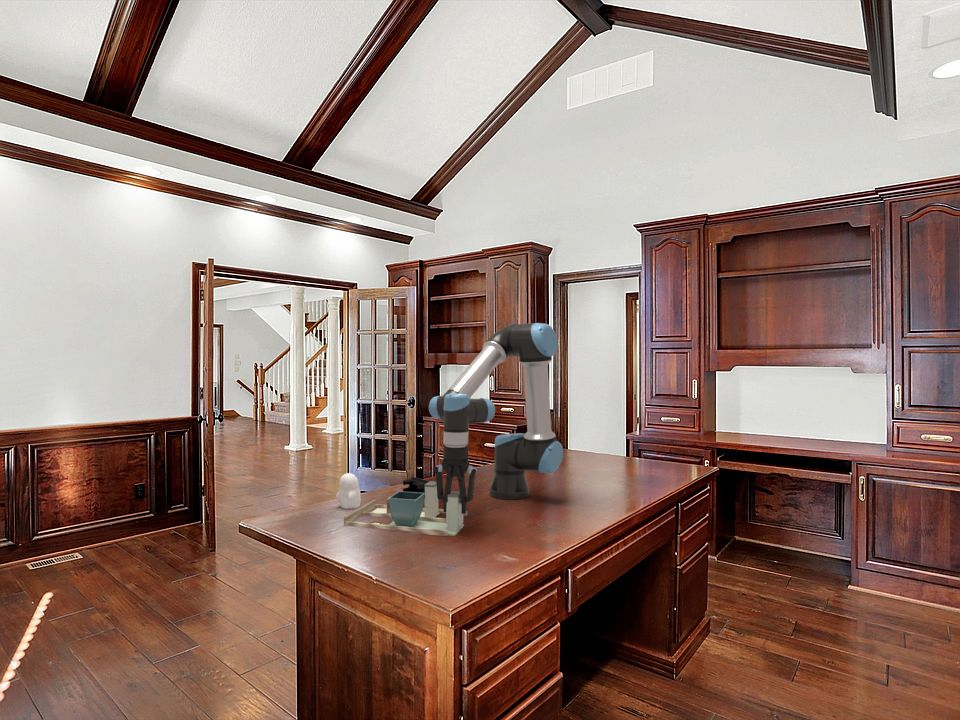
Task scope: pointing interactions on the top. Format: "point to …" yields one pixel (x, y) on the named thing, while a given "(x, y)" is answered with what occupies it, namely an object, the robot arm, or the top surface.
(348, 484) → the figurine
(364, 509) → the lane frame
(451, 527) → the sage strip
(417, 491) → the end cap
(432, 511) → the cream strip
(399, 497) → the flower pot
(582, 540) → the top surface
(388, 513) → the walnut block
